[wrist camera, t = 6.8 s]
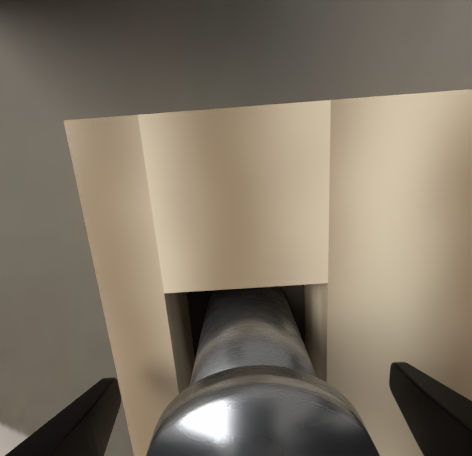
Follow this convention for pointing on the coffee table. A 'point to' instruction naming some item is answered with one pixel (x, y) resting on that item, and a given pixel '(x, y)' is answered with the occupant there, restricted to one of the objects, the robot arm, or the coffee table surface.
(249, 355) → the flared metal knob
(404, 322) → the plate
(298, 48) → the coffee table surface
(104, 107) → the coffee table surface
